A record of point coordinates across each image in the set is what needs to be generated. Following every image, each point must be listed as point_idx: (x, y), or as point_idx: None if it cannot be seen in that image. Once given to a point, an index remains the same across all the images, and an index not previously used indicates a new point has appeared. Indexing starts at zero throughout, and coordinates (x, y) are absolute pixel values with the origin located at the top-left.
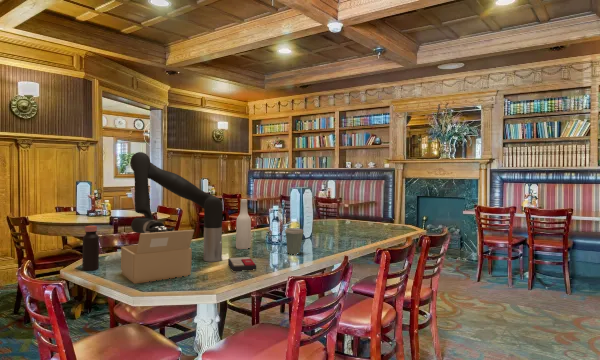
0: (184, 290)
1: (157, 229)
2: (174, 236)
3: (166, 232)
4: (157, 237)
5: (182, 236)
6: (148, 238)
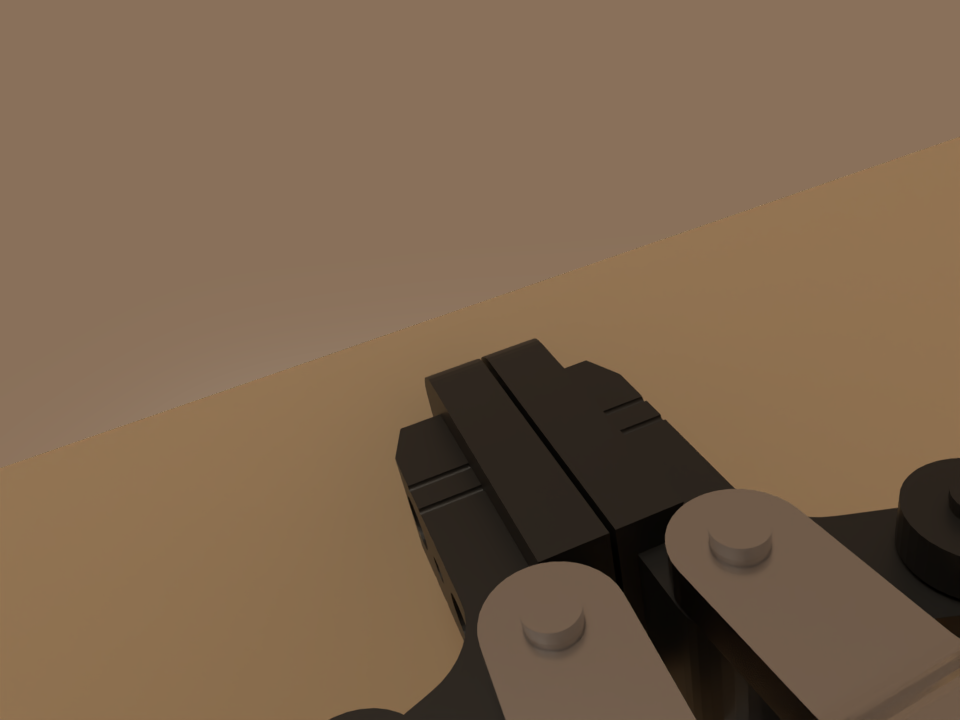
0: None
1: (947, 489)
2: (286, 573)
3: (491, 303)
4: (744, 379)
5: (21, 708)
6: (945, 312)
